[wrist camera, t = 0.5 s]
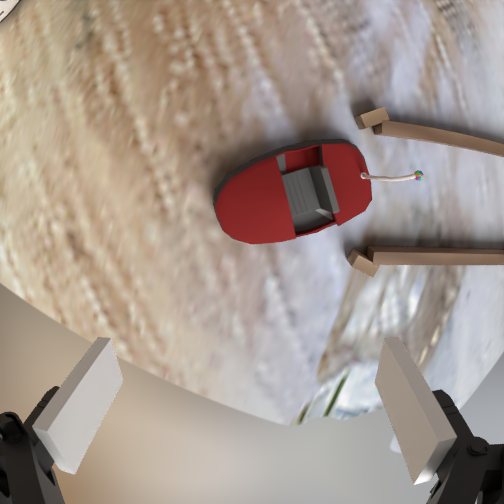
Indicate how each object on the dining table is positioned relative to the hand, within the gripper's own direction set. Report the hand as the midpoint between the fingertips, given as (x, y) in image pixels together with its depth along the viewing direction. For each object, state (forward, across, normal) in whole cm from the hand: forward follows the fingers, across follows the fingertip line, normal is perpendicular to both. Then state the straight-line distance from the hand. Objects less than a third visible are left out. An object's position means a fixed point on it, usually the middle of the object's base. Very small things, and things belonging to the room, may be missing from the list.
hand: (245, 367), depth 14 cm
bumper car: (+24, +5, +5) cm, 25 cm away
